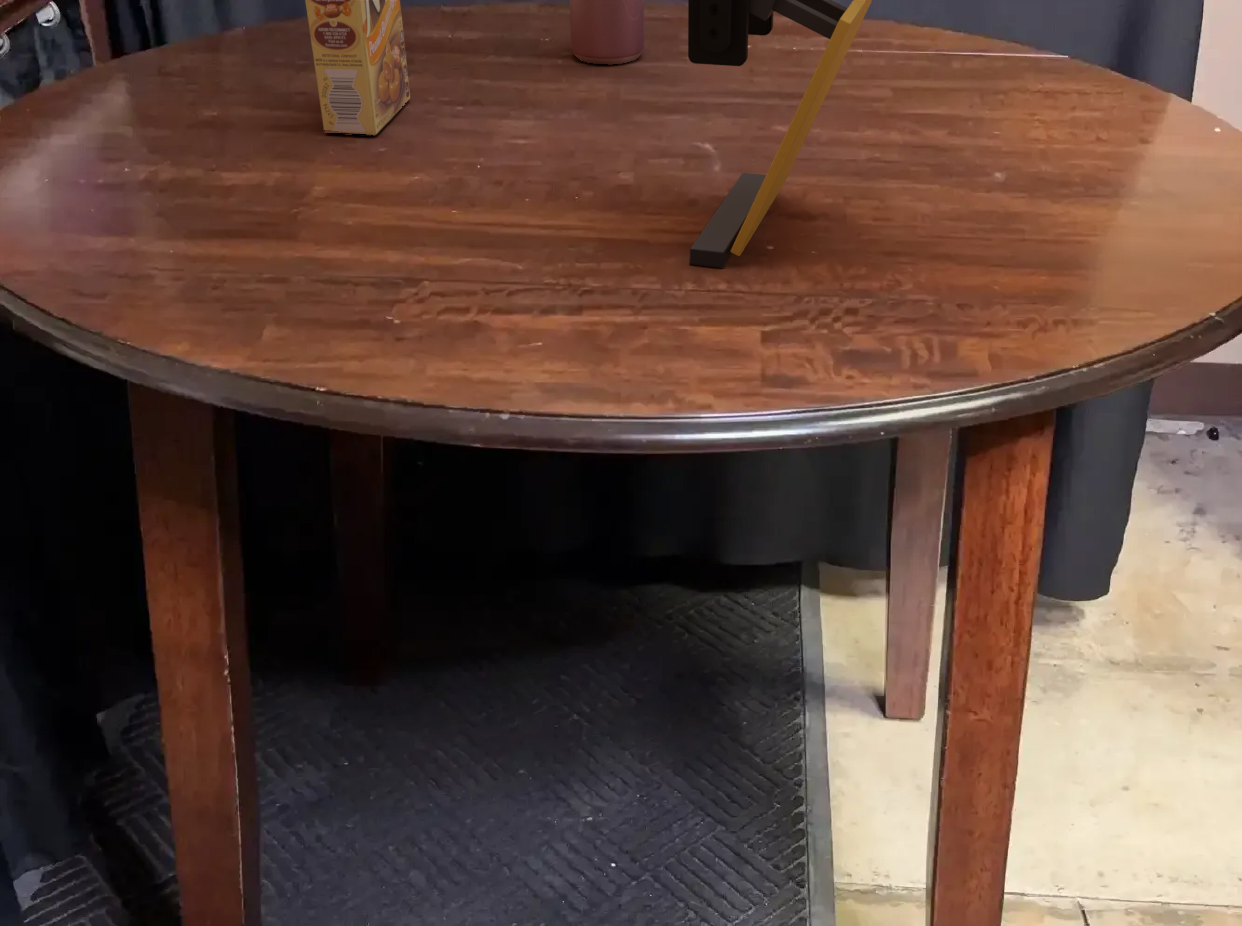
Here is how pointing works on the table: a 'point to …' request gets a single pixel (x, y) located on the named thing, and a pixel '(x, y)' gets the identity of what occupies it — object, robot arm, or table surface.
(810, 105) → the sign
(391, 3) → the candy box
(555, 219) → the table surface
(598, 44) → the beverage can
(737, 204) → the bar
